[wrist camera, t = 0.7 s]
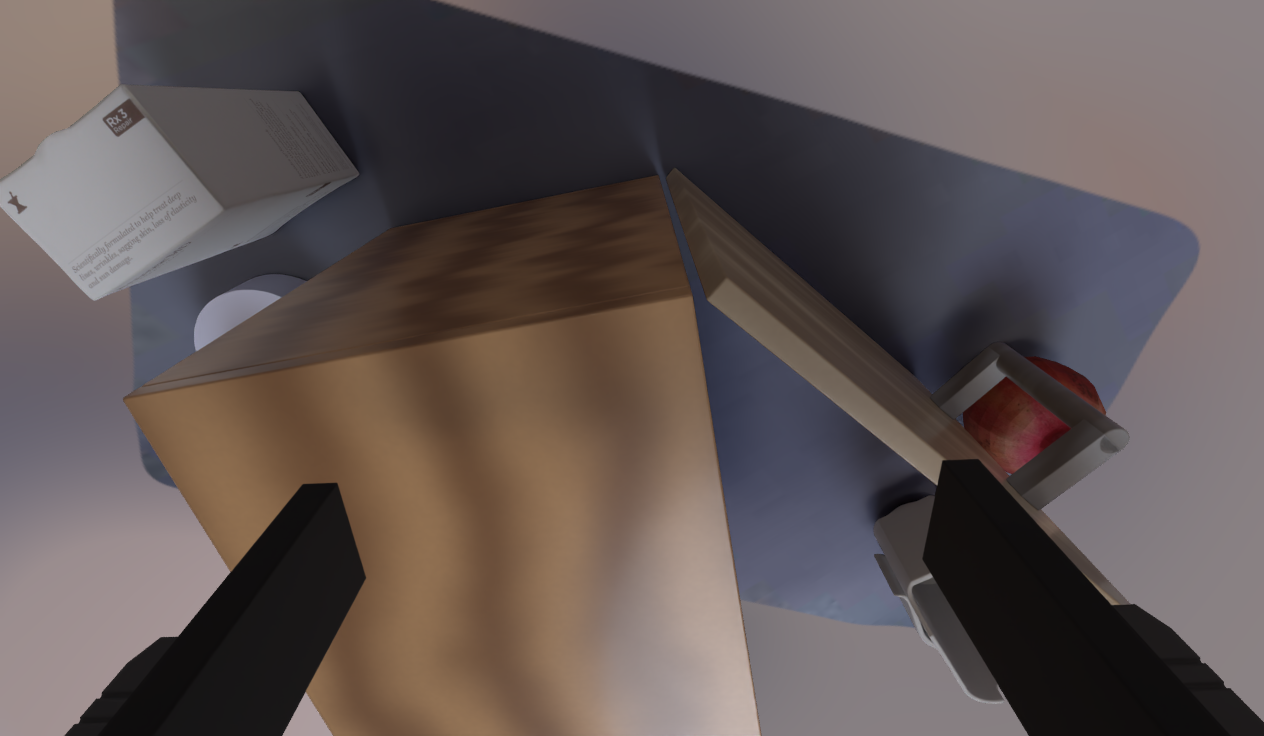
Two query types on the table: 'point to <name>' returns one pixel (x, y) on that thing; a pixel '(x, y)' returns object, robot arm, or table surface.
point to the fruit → (1023, 417)
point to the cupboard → (489, 472)
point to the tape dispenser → (240, 305)
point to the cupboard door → (891, 372)
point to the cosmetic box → (171, 180)
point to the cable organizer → (929, 597)
